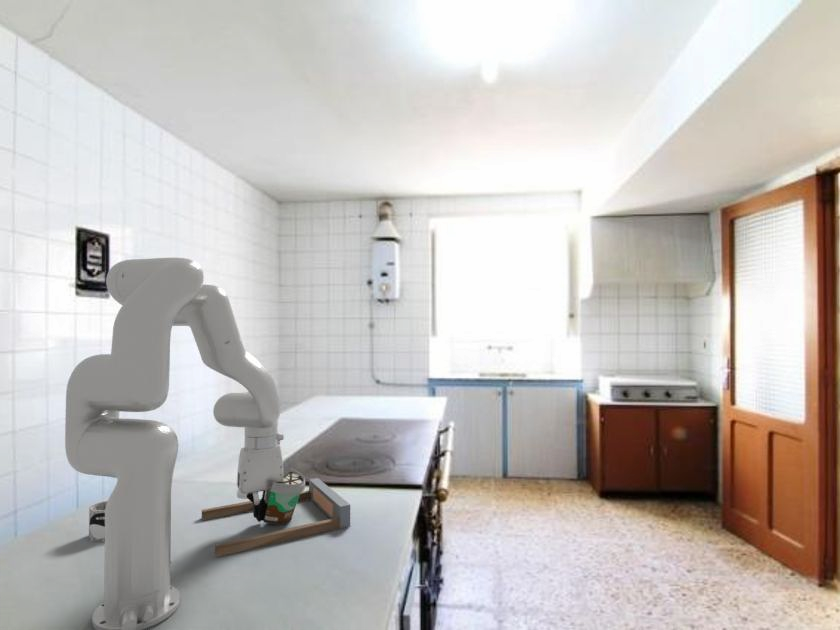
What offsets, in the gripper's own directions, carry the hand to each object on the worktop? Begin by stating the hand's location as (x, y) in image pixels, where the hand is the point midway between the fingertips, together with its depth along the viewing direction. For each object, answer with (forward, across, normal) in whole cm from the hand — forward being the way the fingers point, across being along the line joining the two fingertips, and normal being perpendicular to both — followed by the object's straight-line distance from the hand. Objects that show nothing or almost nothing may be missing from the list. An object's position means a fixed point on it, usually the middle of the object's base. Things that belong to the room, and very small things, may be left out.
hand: (260, 519), depth 115 cm
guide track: (+1, -2, 0) cm, 2 cm away
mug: (+2, +29, -12) cm, 32 cm away
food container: (+1, -5, 0) cm, 5 cm away
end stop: (+1, -17, 0) cm, 17 cm away
